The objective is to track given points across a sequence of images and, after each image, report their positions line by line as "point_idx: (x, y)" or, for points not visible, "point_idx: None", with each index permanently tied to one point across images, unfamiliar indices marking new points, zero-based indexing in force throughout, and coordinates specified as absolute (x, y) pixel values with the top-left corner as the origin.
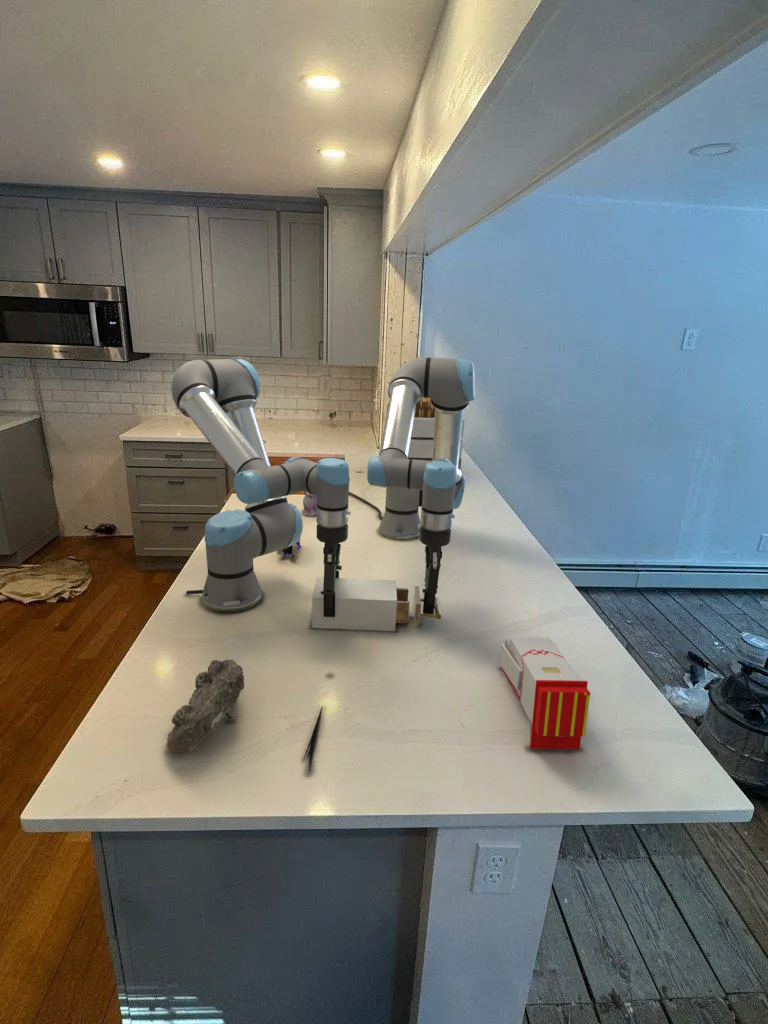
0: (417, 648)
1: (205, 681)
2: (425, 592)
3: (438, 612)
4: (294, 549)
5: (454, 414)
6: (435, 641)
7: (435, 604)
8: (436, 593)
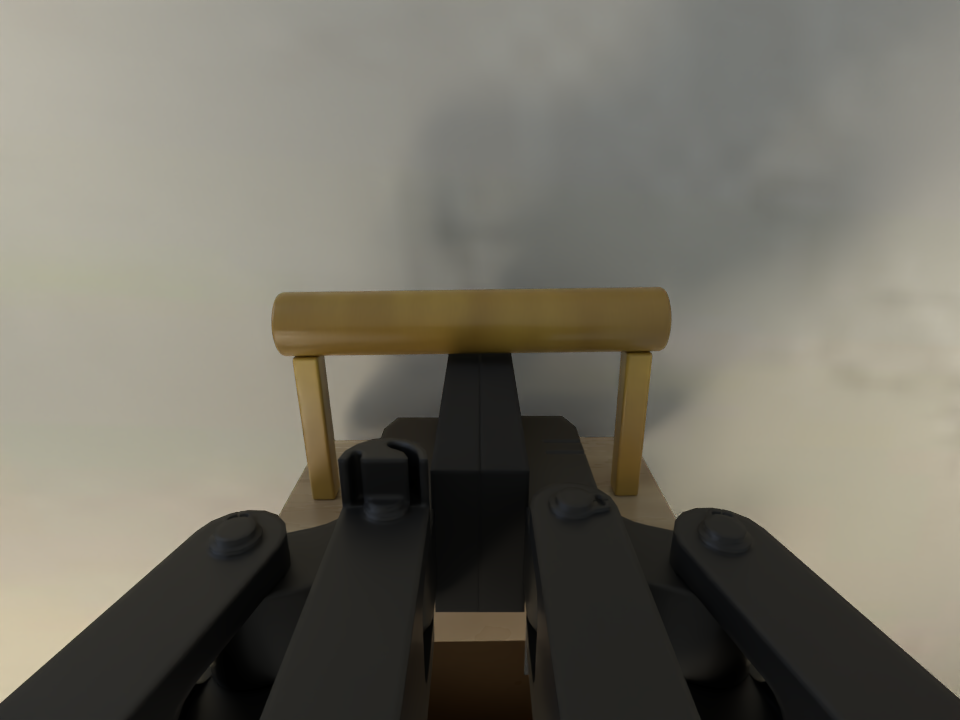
0: (852, 438)
1: None
2: (523, 590)
3: (634, 331)
4: None
5: None
6: (777, 308)
7: (441, 348)
8: (734, 515)
